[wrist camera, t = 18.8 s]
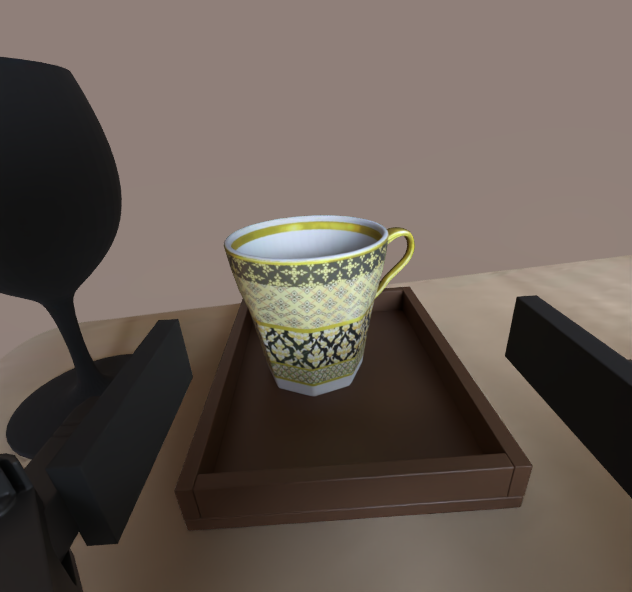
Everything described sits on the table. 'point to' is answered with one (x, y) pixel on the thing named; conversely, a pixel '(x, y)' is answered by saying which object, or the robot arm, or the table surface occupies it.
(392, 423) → the tray
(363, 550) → the table surface
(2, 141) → the wine glass
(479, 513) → the table surface
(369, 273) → the ceramic cup
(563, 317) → the robot arm
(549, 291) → the table surface
